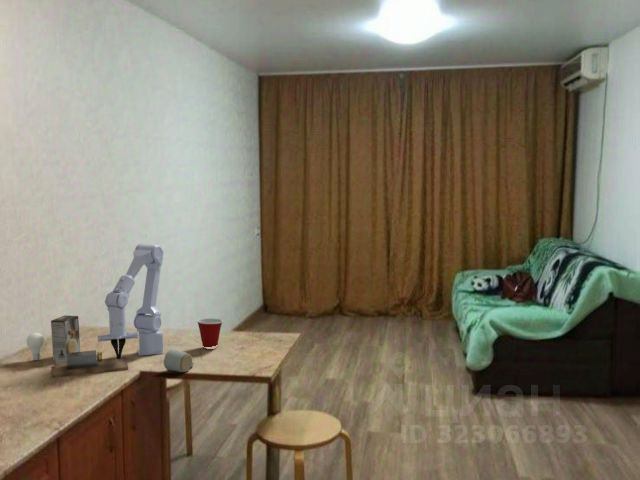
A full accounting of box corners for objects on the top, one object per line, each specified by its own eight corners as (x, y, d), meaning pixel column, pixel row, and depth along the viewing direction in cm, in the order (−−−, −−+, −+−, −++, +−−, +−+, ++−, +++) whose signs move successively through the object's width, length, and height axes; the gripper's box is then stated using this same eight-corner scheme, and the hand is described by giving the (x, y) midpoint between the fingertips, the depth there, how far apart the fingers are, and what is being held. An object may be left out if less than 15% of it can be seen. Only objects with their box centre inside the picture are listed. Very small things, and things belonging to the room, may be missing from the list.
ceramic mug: (181, 375, 225) (181, 354, 225) (163, 372, 229) (163, 351, 228) (198, 367, 235) (198, 347, 234) (181, 364, 238) (181, 344, 238)
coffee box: (66, 353, 252) (64, 314, 250) (80, 354, 250) (79, 315, 249) (52, 360, 243) (50, 320, 241) (67, 361, 242) (65, 321, 240)
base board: (126, 358, 245) (126, 356, 245) (128, 369, 232) (128, 366, 232) (54, 366, 236) (54, 363, 236) (52, 377, 223) (52, 374, 223)
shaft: (102, 360, 237) (101, 350, 236) (102, 362, 233) (101, 353, 233) (56, 364, 231) (55, 355, 231) (55, 367, 228) (55, 357, 227)
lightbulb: (49, 359, 244) (47, 331, 243) (35, 363, 239) (34, 335, 237) (37, 357, 247) (36, 330, 246) (23, 361, 241) (22, 333, 240)
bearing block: (96, 362, 237) (96, 350, 237) (96, 366, 232) (96, 354, 231) (68, 365, 234) (67, 352, 233) (67, 369, 228) (67, 357, 228)
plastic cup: (229, 346, 262) (228, 318, 261) (211, 353, 253) (210, 324, 251) (209, 342, 268) (209, 315, 266) (191, 348, 259) (191, 320, 257)
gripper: (97, 327, 229) (98, 363, 231) (138, 324, 234) (139, 359, 236) (97, 323, 236) (98, 357, 237) (136, 319, 241) (138, 354, 242)
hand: (118, 358), depth 237 cm, fingers closed
